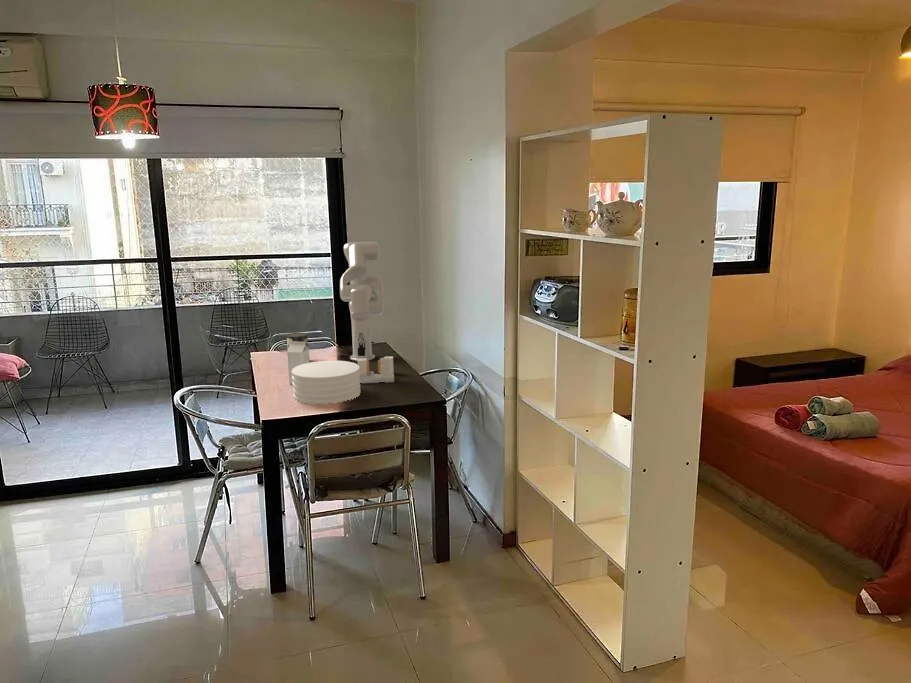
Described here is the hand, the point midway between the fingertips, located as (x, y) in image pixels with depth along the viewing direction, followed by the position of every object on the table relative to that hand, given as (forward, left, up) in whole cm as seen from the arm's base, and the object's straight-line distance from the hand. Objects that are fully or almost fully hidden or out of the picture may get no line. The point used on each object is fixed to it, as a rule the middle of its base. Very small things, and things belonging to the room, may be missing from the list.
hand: (361, 352), depth 306 cm
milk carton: (-1, -28, -13) cm, 31 cm away
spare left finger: (-10, +12, -13) cm, 20 cm away
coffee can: (-41, -33, -13) cm, 54 cm away
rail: (+1, +2, -13) cm, 13 cm away
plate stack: (+19, -15, -13) cm, 28 cm away
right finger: (+1, 0, -11) cm, 11 cm away
